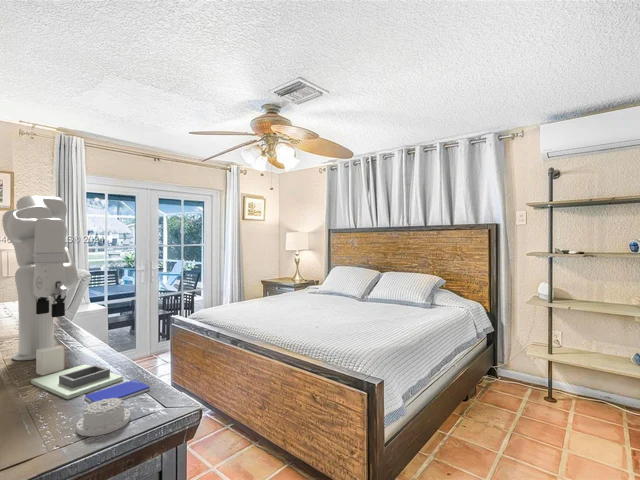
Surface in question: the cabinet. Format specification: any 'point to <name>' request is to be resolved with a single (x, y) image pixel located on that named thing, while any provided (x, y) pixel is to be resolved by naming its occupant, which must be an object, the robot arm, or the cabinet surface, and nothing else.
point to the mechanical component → (103, 417)
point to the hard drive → (119, 391)
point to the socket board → (77, 380)
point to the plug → (50, 359)
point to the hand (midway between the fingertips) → (50, 315)
